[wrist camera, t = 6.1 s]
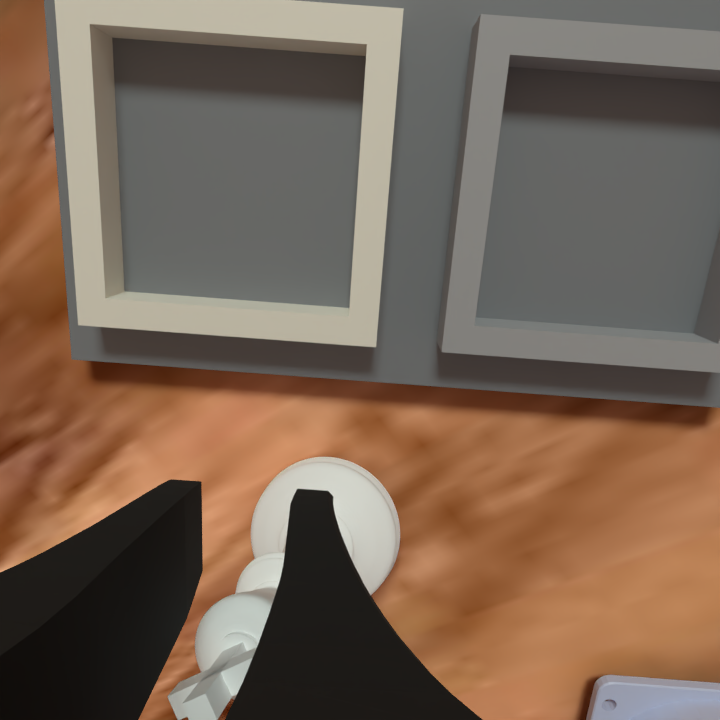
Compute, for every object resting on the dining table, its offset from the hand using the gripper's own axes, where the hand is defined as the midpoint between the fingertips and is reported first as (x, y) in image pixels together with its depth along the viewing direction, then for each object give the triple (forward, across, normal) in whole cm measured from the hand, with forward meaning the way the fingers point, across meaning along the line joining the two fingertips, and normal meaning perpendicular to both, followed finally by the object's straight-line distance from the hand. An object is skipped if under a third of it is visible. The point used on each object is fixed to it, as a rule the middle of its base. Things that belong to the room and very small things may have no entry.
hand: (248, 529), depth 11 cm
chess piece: (+7, -1, +4) cm, 8 cm away
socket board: (+8, -3, -7) cm, 11 cm away
